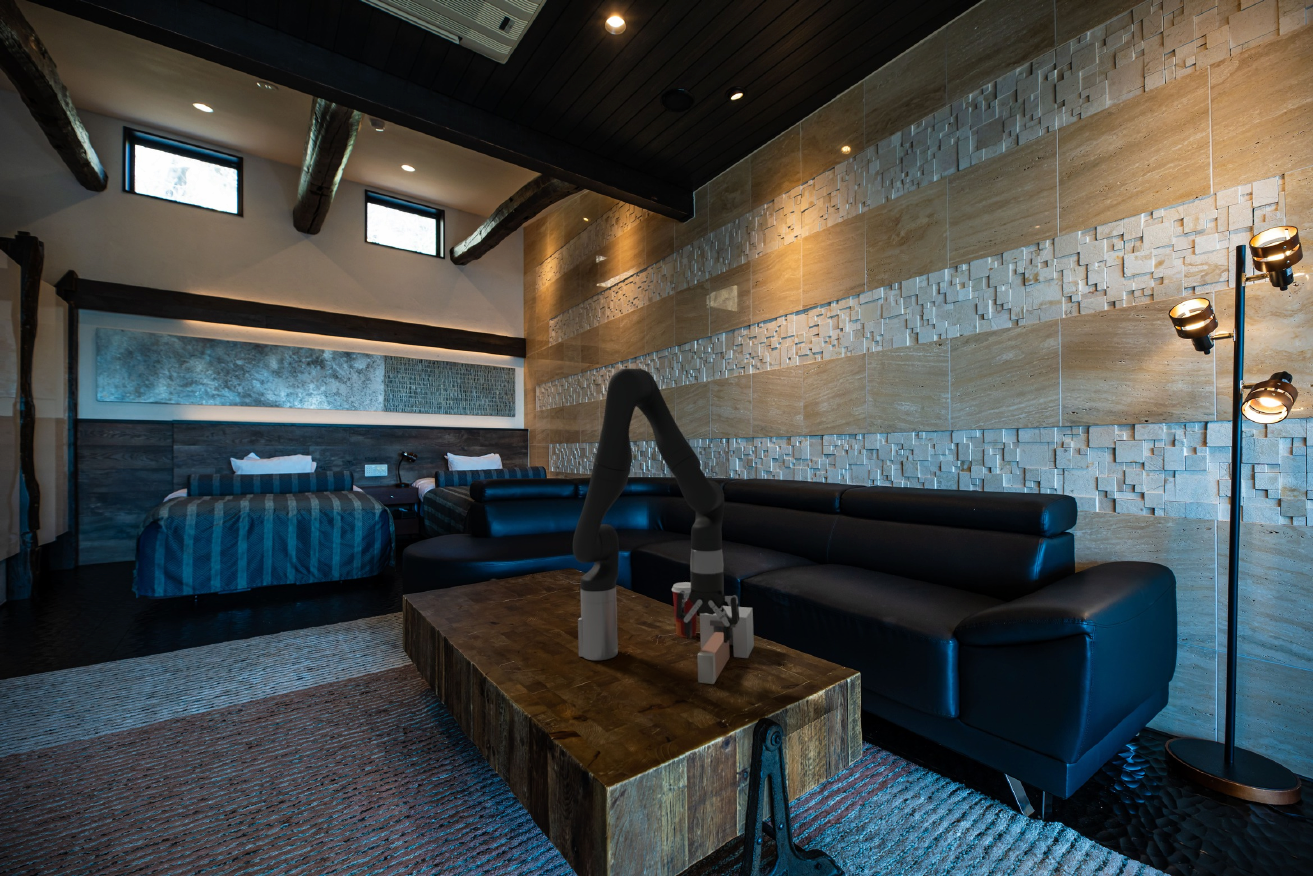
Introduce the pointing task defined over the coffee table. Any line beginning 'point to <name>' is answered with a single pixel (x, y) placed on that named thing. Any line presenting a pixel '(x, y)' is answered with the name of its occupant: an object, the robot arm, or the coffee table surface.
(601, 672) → the coffee table surface
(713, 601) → the robot arm
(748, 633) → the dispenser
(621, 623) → the coffee table surface
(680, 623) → the paper cup
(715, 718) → the coffee table surface
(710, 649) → the pink white-banded pillar
